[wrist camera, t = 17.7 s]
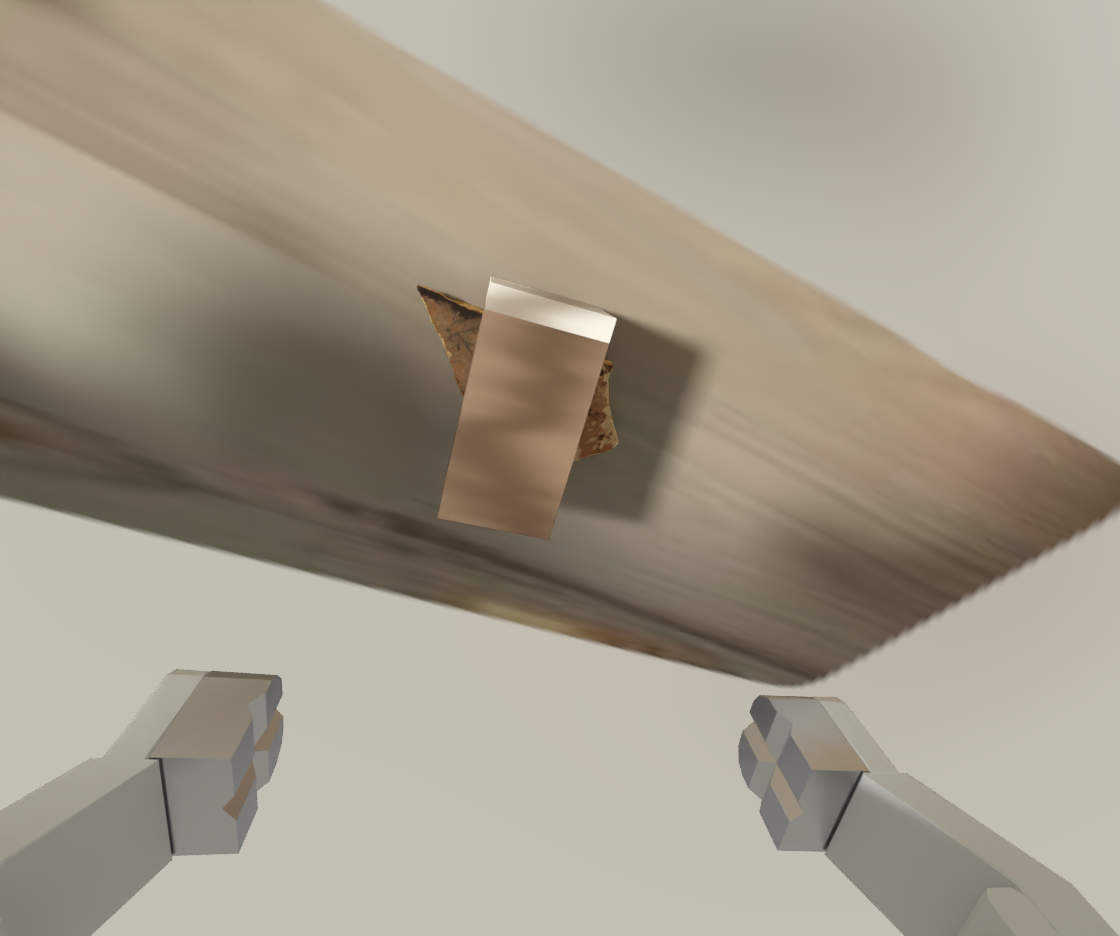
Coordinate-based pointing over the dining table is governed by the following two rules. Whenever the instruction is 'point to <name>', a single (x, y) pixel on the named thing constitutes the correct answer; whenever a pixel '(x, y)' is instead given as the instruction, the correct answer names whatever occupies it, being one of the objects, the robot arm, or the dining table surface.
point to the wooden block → (523, 408)
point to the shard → (459, 340)
